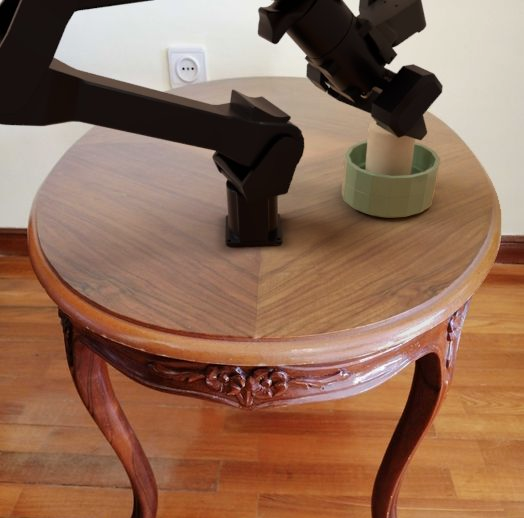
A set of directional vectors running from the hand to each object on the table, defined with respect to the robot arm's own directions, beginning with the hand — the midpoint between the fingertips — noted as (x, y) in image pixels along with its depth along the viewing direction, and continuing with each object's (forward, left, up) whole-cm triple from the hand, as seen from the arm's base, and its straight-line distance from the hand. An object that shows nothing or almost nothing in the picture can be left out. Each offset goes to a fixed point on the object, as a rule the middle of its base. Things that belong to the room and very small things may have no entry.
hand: (405, 125), depth 69 cm
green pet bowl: (-1, +1, -9) cm, 9 cm away
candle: (0, +1, -9) cm, 9 cm away
